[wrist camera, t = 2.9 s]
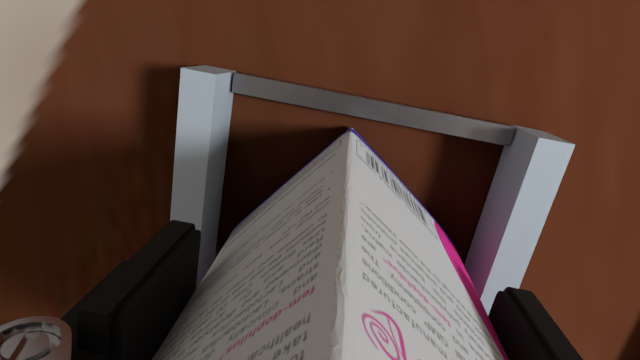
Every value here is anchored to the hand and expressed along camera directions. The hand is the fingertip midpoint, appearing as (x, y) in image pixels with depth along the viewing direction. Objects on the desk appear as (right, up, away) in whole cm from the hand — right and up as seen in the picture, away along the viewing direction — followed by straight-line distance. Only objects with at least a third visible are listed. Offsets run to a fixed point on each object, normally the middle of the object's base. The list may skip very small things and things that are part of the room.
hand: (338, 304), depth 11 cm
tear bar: (+1, +6, +2) cm, 6 cm away
